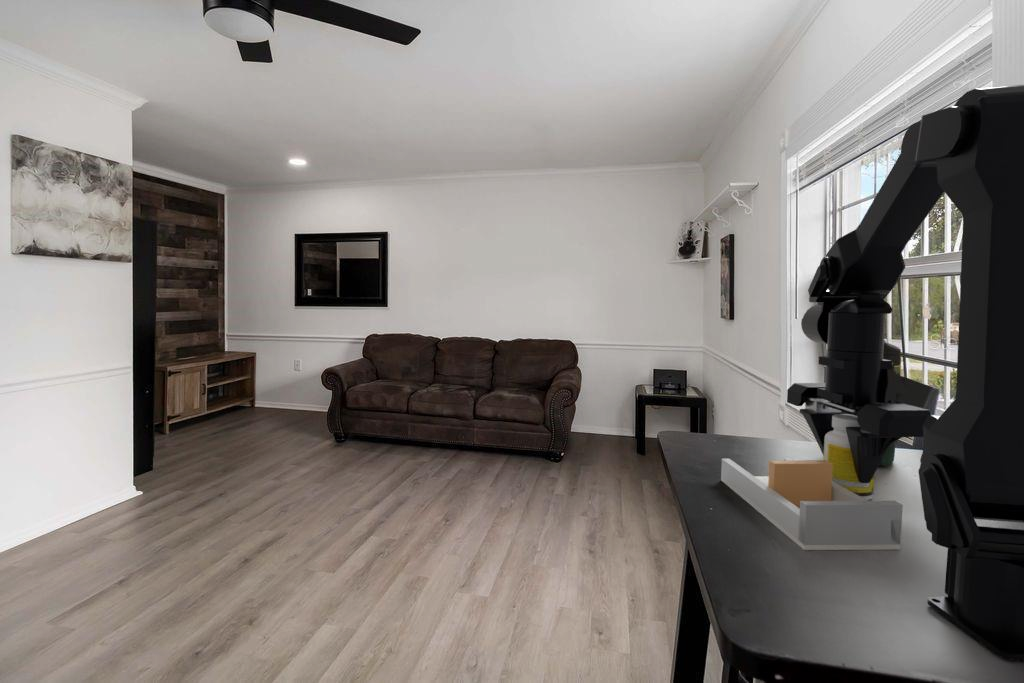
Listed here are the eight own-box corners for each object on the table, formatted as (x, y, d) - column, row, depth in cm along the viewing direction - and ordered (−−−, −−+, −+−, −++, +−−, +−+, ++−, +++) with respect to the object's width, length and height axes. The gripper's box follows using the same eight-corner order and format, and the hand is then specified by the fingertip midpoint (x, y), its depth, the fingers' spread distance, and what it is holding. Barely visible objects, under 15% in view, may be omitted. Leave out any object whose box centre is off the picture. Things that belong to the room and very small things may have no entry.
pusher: (830, 506, 57) (832, 463, 57) (773, 506, 57) (774, 463, 57) (824, 502, 58) (825, 460, 58) (767, 502, 58) (769, 460, 58)
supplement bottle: (882, 504, 60) (887, 423, 59) (832, 500, 61) (836, 421, 60) (860, 487, 65) (864, 413, 64) (814, 484, 66) (818, 411, 65)
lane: (899, 549, 49) (902, 504, 48) (804, 550, 49) (806, 505, 48) (790, 479, 68) (791, 447, 67) (721, 480, 68) (722, 447, 67)
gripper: (993, 358, 52) (982, 504, 53) (865, 343, 71) (859, 451, 72) (887, 359, 52) (878, 504, 53) (787, 343, 71) (782, 452, 72)
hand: (848, 474), depth 63 cm, fingers closed on supplement bottle, 5 cm apart
